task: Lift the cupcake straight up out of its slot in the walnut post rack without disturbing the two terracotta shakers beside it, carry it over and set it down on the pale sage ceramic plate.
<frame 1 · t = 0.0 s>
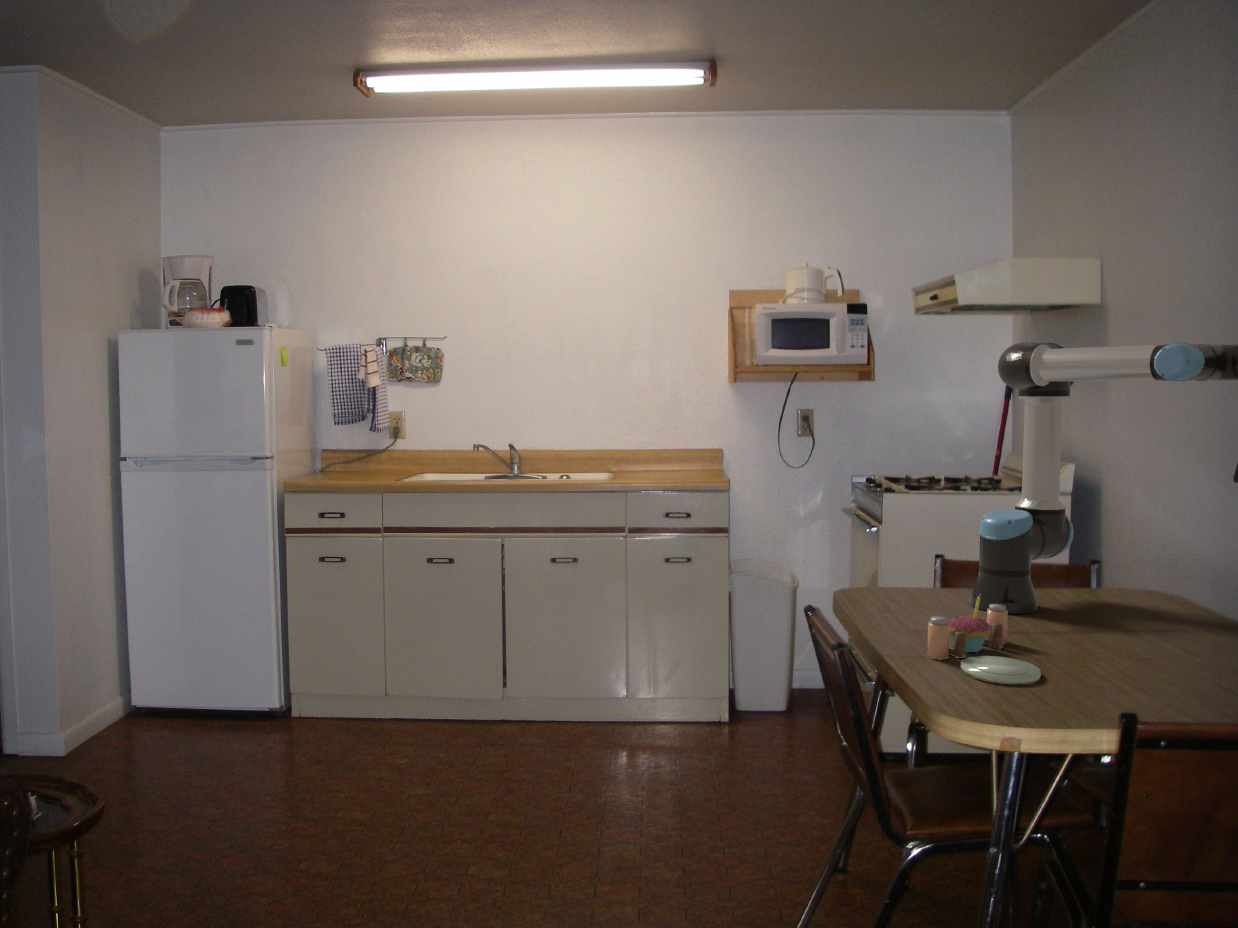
shaker 2: (996, 642, 192), on the table
rack: (967, 649, 187), on the table
shaker 1: (937, 657, 182), on the table
plate: (999, 673, 171), on the table
cupcake: (967, 650, 187), on the table
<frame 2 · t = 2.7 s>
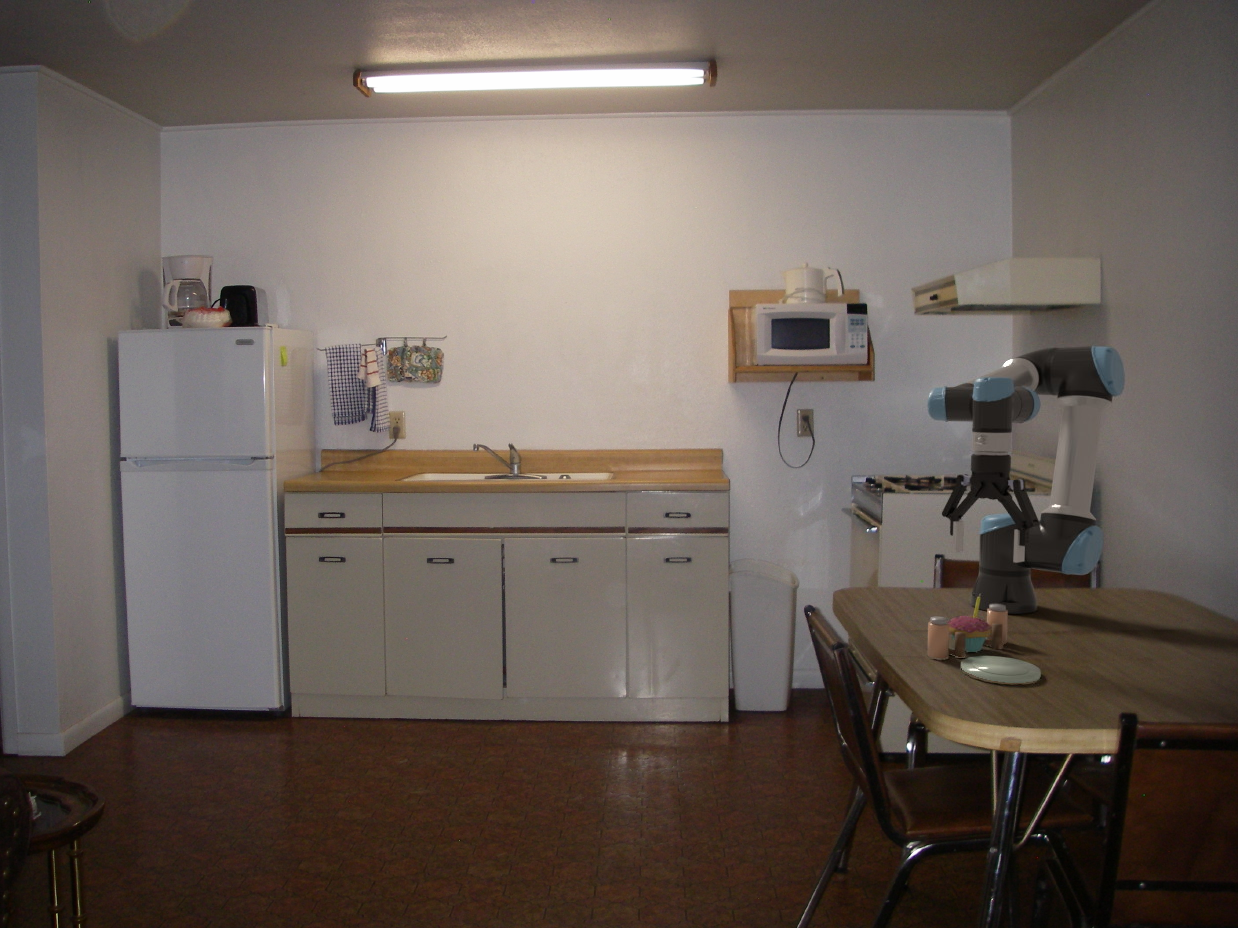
hand: (987, 556, 185), 20 cm above the table, tool pointing down, fingers open, 13 cm apart
nothing on the table moved.
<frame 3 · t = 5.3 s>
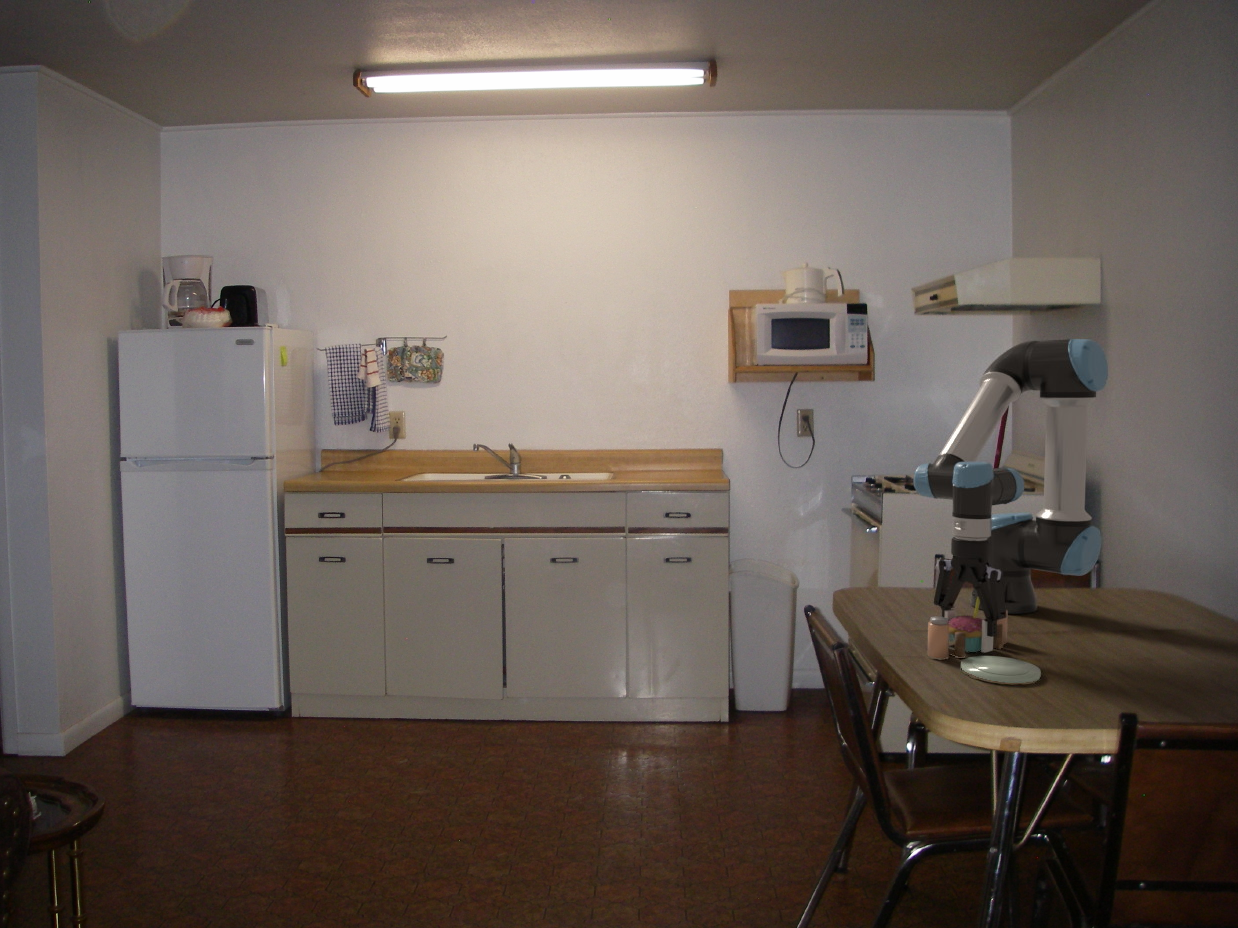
hand: (967, 645, 187), 1 cm above the table, tool pointing down, fingers closed on cupcake, 8 cm apart
cupcake: (967, 650, 187), on the table, touching gripper
everything else where it was.
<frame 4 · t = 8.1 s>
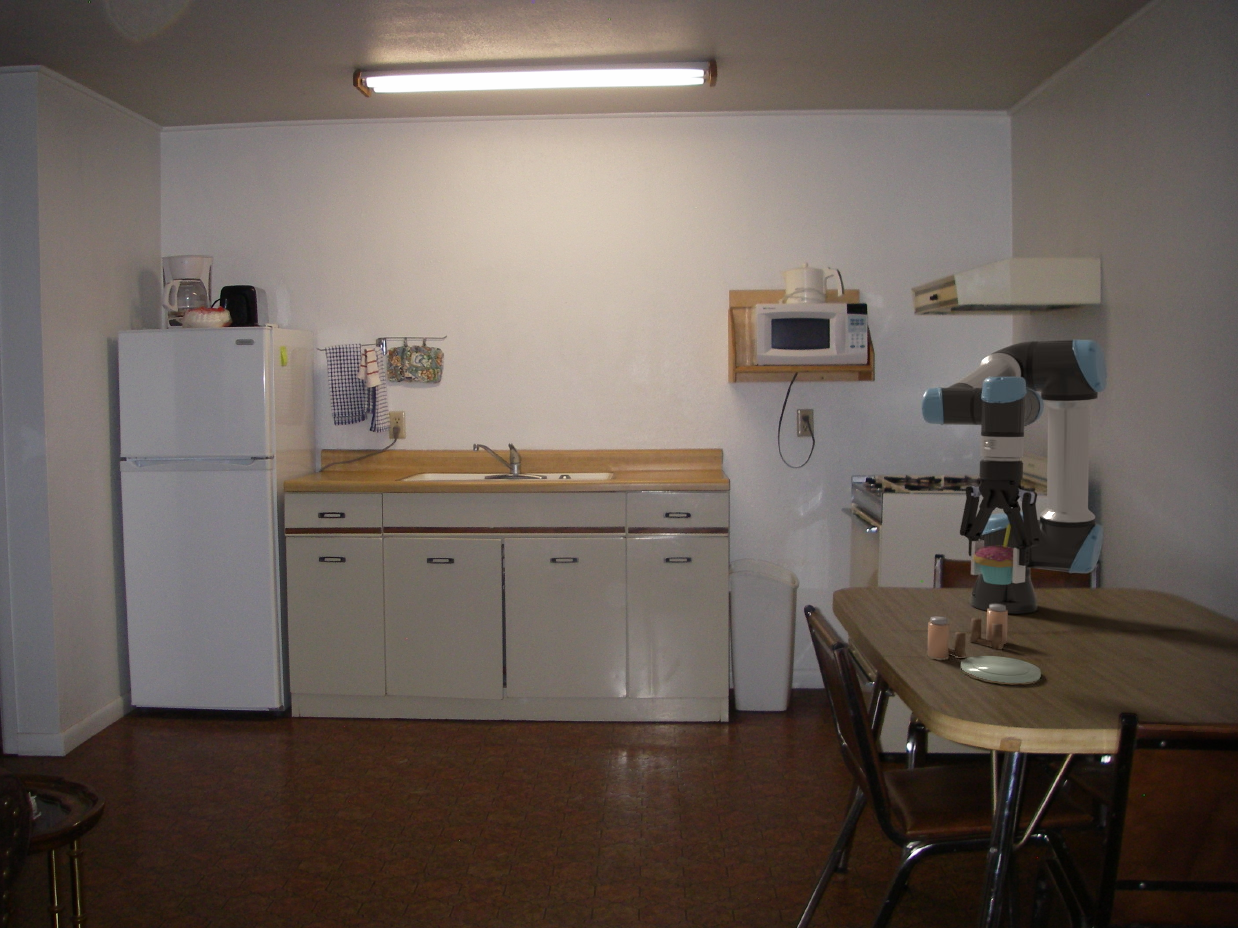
hand: (997, 577, 171), 18 cm above the table, tool pointing down, fingers closed on cupcake, 8 cm apart
cupcake: (997, 583, 171), point 17 cm above the table, touching gripper
everything else where it was.
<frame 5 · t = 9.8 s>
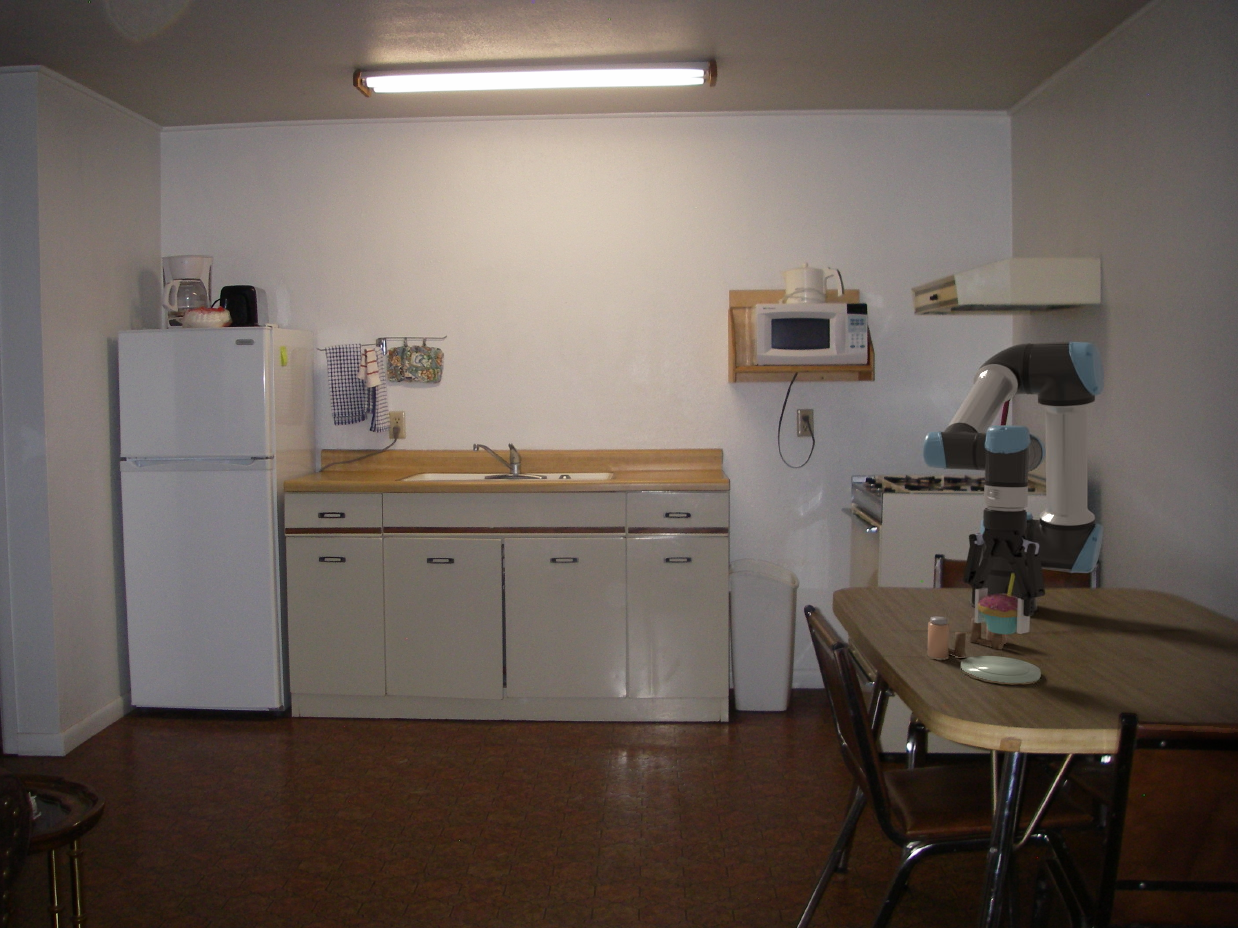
hand: (1001, 626, 171), 9 cm above the table, tool pointing down, fingers closed on cupcake, 8 cm apart
cupcake: (1001, 632, 171), point 8 cm above the table, touching gripper
everything else where it was.
when the fingers open (4 cm above the table, at t = 11.2 s): cupcake drops 1 cm, resting on plate.
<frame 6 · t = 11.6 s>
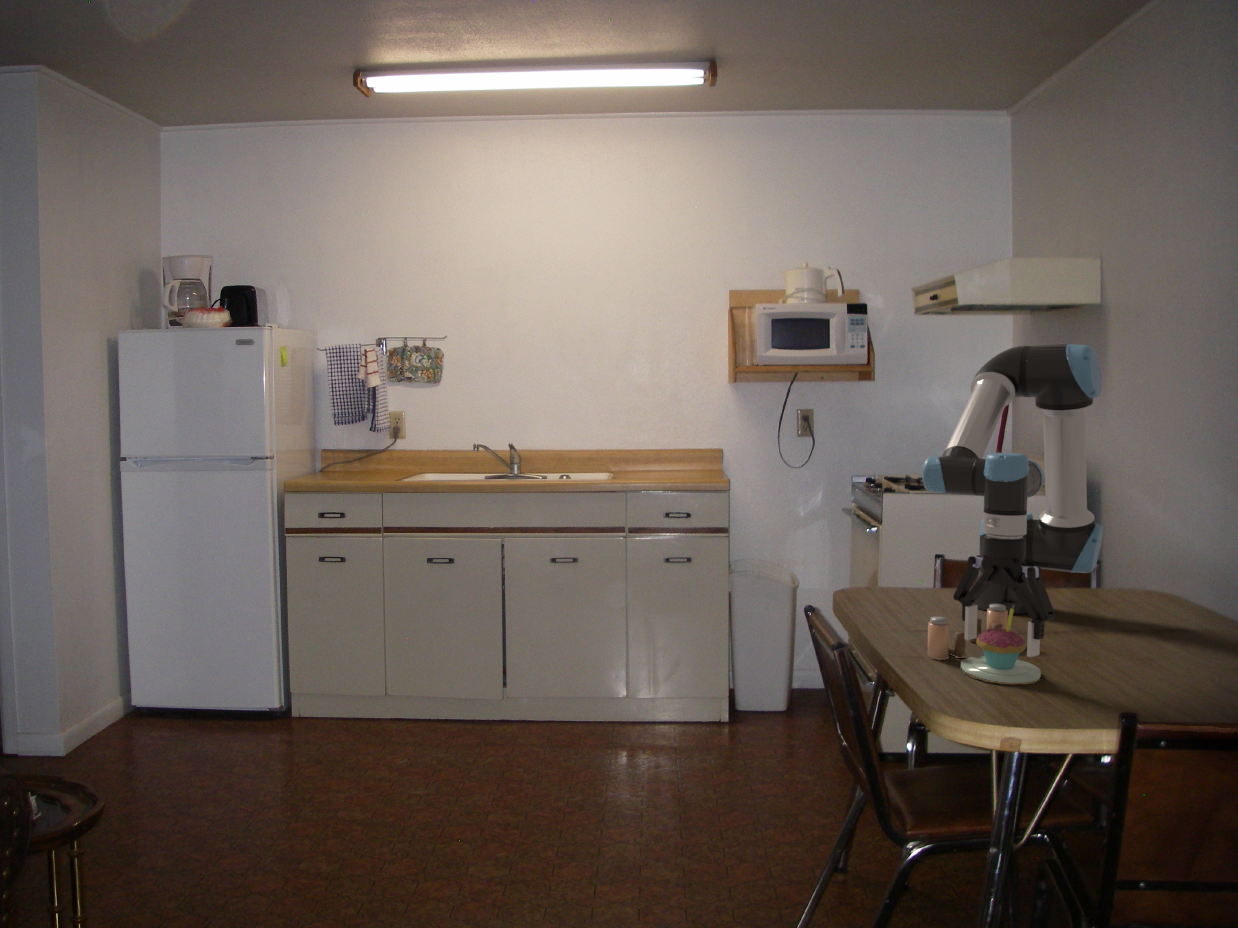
hand: (1000, 646, 171), 5 cm above the table, tool pointing down, fingers open, 13 cm apart
cupcake: (1000, 666, 171), point 1 cm above the table, touching plate
everything else where it was.
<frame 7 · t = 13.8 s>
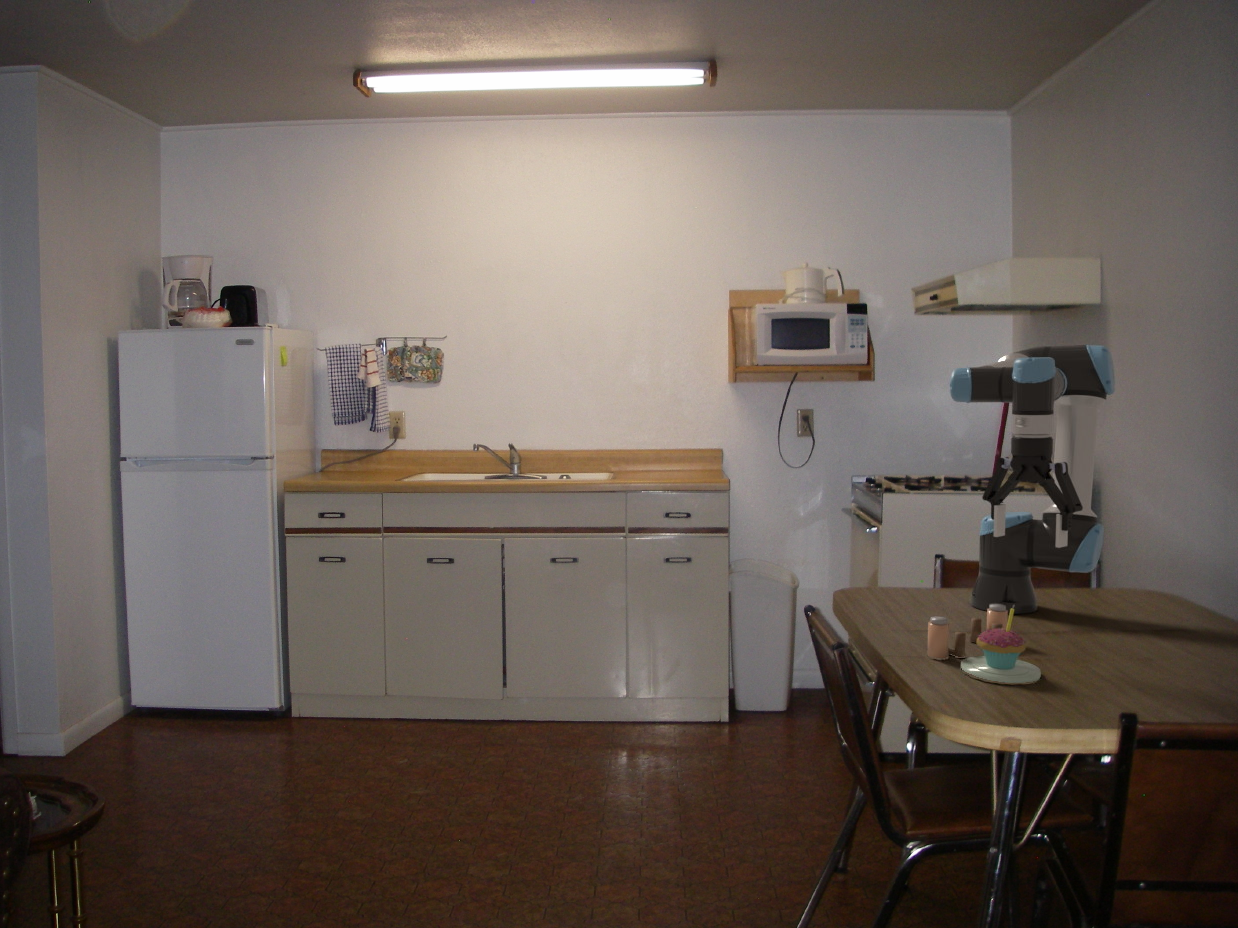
hand: (1029, 541, 181), 23 cm above the table, tool pointing down, fingers open, 13 cm apart
nothing on the table moved.
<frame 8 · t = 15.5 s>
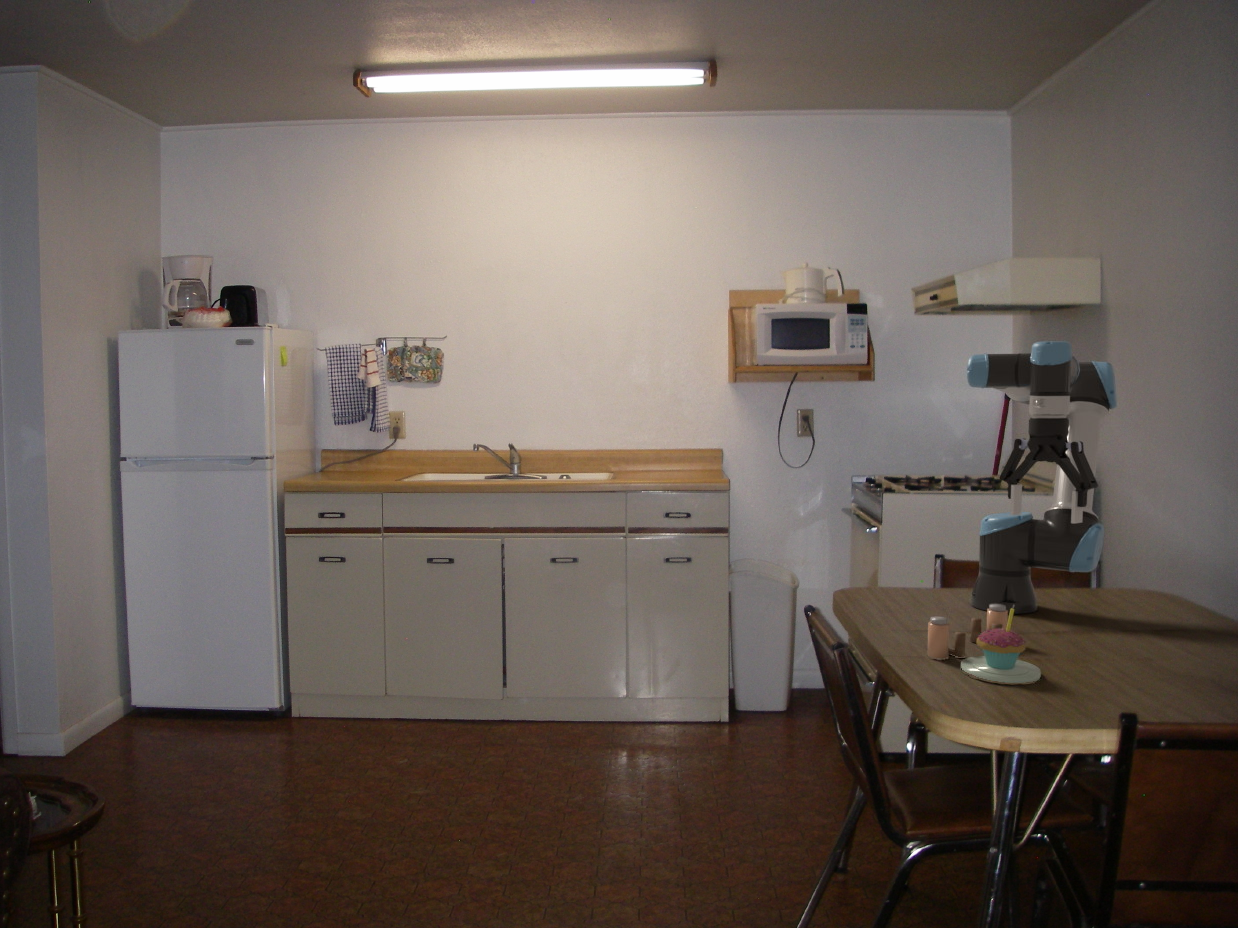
hand: (1045, 518, 188), 27 cm above the table, tool pointing down, fingers open, 13 cm apart
nothing on the table moved.
at the end: cupcake 0.0 cm from the plate (horizontally); cupcake point 1.2 cm above the table; cupcake tilted 0°; shaker 1 moved 0.0 cm from its start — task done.
